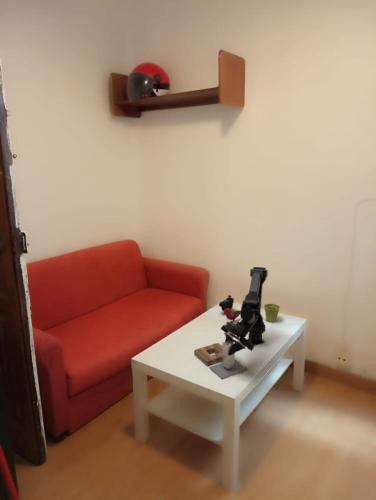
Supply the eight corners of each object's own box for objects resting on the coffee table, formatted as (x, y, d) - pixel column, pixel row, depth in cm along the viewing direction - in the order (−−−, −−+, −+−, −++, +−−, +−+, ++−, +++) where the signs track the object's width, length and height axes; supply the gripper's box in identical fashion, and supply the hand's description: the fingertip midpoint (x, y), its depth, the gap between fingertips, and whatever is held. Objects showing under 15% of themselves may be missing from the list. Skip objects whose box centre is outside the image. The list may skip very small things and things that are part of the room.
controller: (234, 310, 231) (235, 295, 228) (223, 316, 222) (223, 301, 219) (229, 308, 233) (229, 293, 231) (217, 314, 224) (217, 299, 222)
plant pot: (279, 317, 219) (279, 303, 217) (279, 324, 210) (280, 310, 208) (263, 316, 221) (263, 303, 219) (263, 323, 212) (263, 309, 210)
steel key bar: (229, 361, 169) (229, 340, 166) (234, 366, 166) (234, 344, 163) (222, 364, 167) (222, 342, 165) (227, 368, 164) (227, 346, 161)
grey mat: (234, 359, 174) (234, 358, 174) (247, 370, 166) (247, 368, 166) (209, 368, 168) (209, 367, 168) (221, 379, 159) (221, 378, 159)
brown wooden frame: (218, 347, 186) (218, 342, 186) (231, 357, 176) (231, 353, 176) (194, 354, 180) (194, 350, 179) (207, 366, 170) (207, 361, 169)
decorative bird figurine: (221, 324, 211) (221, 308, 209) (244, 316, 221) (244, 301, 219) (225, 326, 209) (225, 310, 206) (247, 318, 219) (247, 302, 216)
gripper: (224, 308, 170) (204, 336, 168) (249, 323, 155) (227, 354, 152) (237, 320, 176) (218, 347, 174) (263, 336, 160) (242, 365, 158)
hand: (225, 353), depth 164 cm, fingers closed on steel key bar, 4 cm apart
